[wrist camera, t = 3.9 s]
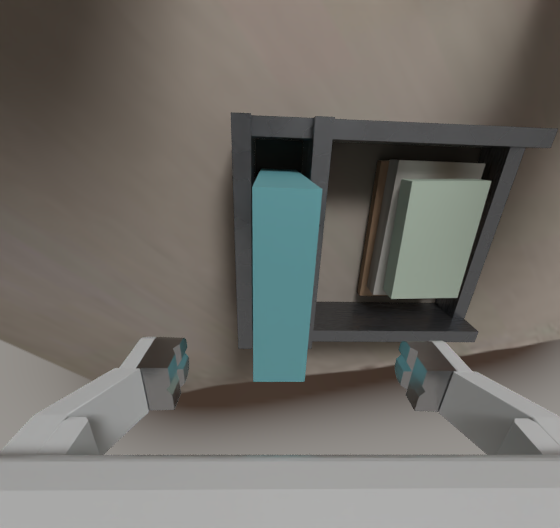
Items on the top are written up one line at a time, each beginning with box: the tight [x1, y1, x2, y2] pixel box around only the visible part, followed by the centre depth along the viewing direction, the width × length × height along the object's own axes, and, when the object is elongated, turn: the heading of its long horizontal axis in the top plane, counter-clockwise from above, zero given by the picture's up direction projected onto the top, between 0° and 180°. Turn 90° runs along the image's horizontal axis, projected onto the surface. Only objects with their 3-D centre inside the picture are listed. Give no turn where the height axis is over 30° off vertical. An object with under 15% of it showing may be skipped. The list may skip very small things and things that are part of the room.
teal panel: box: [252, 168, 322, 382], centre depth 20 cm, size 3×11×13 cm, turn 178°
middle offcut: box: [367, 159, 485, 295], centre depth 24 cm, size 7×12×2 cm, turn 178°
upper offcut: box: [383, 179, 491, 299], centre depth 23 cm, size 6×10×2 cm, turn 0°
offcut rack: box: [231, 113, 558, 349], centre depth 23 cm, size 22×18×6 cm
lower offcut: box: [357, 161, 389, 296], centre depth 26 cm, size 8×13×2 cm, turn 178°
